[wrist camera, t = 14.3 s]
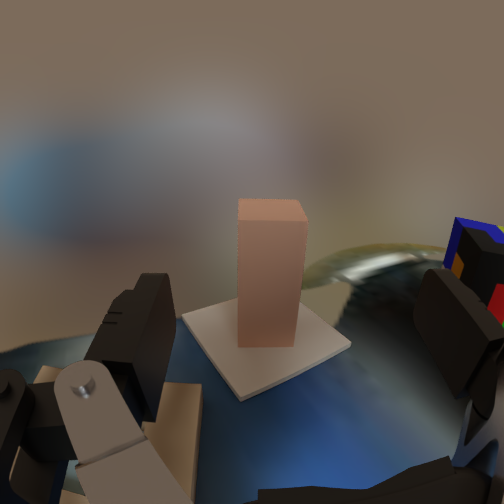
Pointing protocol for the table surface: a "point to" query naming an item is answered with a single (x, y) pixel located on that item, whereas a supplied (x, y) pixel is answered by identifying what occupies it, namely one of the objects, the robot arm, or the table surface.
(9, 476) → the robot arm
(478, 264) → the puzzle toy
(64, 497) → the puzzle board
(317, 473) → the table surface
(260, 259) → the terracotta block
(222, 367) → the grey pad
